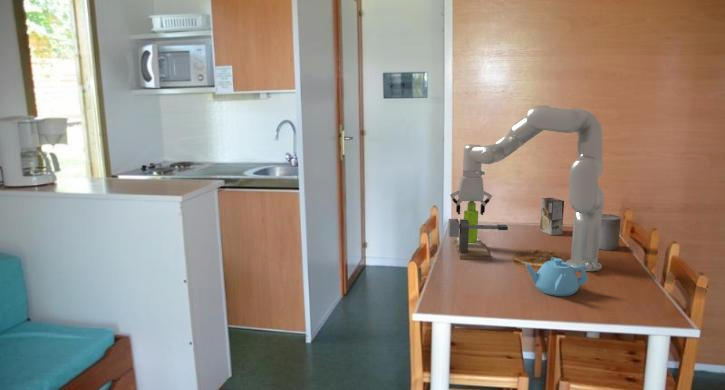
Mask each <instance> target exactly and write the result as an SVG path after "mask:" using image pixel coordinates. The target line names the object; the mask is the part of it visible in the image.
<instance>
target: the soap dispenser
mask: <svg viewBox="0 0 725 390" xmlns="http://www.w3.org/2000/svg"><path fill="white" fill-rule="evenodd" d="M476 204H477V203H476V201H468V203H467V207H466V208H467V209H465V210H464V211H463V219H468V221H469V225H479V211H478V210H476V208H477V205H476ZM478 230H479V229H469V238H468V243H476V242H477V238H478Z"/></svg>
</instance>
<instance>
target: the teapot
mask: <svg viewBox="0 0 725 390" xmlns="http://www.w3.org/2000/svg"><path fill="white" fill-rule="evenodd" d="M525 266H526V268H527V271H528V273H529V275H530V277H531V280H532V281H533V283H534V285H535V286H536V288H537V289H538V290H539V292H541V293H543V294H546V295H549V296H556V297H570V296H572V295H574V294H575V293H576V292H577V291H579V288H580V287H581V286H582V285H584V284H585V283H587V282H588V281H589V278H588V274H587V271H586V270H585V267H584V265H583V266H571V265H570V264H568V263H566V261H563V259H562V258H556V257H553V256H552V257H551V260H547V261H545V262H544V263H543V264H542V265H541V266H540V268H539V269H538V271H537V272H535V270H534V268H533V267H532V265H531V263H529V264H526V263H525ZM578 271H579V272H580V274H581V276H580V277H579V278H578V276H577V273H576V272H578Z"/></svg>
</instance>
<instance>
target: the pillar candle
mask: <svg viewBox="0 0 725 390" xmlns="http://www.w3.org/2000/svg"><path fill="white" fill-rule="evenodd" d="M620 231H621V217H620V216H619V215H615V214H610V213H602V220H601V229H600V240H599V250H603V251H611V252H612V251H618V250H619V245H620Z"/></svg>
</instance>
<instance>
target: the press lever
mask: <svg viewBox="0 0 725 390" xmlns="http://www.w3.org/2000/svg"><path fill="white" fill-rule="evenodd" d="M447 221H448V224H447V234H448V236H449V237H450V238H459V237H460V229H461V225H460V220H459V219H458V218H448V219H447ZM469 229H478V230H498V231H509V230H508V229H509V226H508V225H507V224H495V225H494V224H493V225H492V224H491V225H490V224H478V225H469Z"/></svg>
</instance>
